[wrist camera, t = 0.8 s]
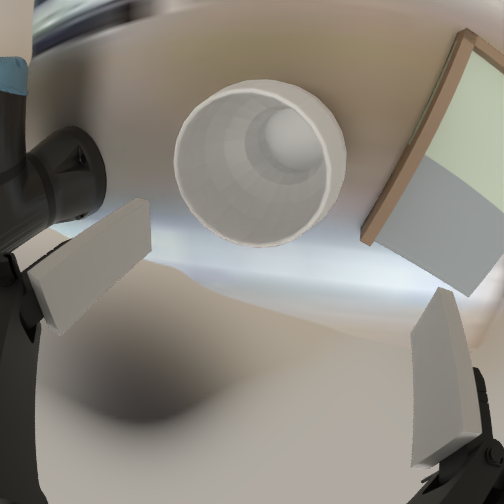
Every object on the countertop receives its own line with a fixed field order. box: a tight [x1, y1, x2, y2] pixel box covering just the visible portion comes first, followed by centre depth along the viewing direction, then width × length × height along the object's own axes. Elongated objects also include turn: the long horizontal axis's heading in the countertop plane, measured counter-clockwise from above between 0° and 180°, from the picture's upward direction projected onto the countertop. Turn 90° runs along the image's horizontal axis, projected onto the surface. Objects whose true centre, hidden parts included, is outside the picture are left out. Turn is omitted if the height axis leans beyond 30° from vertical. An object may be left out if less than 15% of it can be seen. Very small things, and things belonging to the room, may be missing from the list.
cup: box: [173, 79, 347, 248], centre depth 22 cm, size 11×11×15 cm
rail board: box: [360, 28, 504, 297], centre depth 22 cm, size 16×24×3 cm, turn 160°
